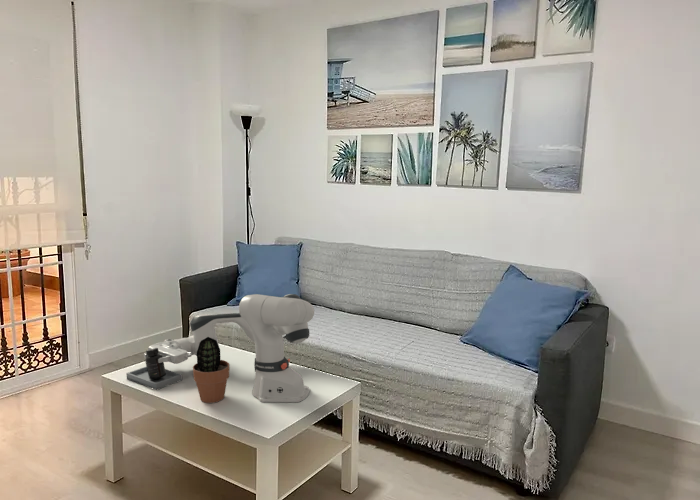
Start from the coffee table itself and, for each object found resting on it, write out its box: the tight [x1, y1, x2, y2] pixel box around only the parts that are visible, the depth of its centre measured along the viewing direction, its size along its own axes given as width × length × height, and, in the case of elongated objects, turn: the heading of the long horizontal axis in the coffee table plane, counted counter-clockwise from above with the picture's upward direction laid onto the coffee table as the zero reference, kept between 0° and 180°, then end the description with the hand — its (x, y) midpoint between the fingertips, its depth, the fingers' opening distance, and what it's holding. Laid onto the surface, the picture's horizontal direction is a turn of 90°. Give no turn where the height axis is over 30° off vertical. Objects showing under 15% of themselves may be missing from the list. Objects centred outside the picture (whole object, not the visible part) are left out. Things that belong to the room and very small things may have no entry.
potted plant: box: [192, 337, 230, 404], centre depth 205 cm, size 14×14×25 cm
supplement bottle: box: [144, 348, 166, 380], centre depth 223 cm, size 7×7×12 cm
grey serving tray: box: [126, 366, 183, 391], centre depth 225 cm, size 20×12×2 cm, turn 55°
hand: (151, 358), depth 223 cm, fingers open, 8 cm apart
